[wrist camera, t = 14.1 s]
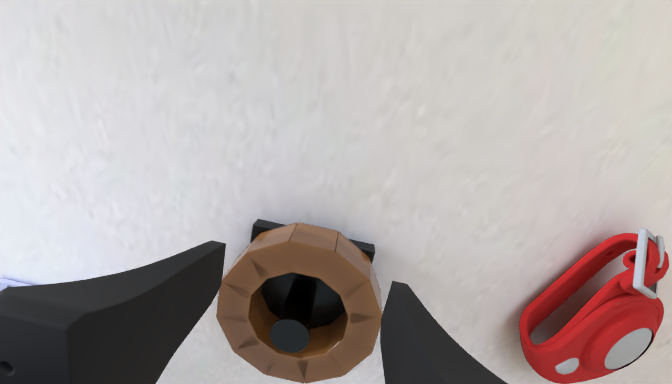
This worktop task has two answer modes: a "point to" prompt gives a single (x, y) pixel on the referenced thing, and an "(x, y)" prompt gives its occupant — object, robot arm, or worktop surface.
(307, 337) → the rack
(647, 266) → the tracker holder
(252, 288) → the ring
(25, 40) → the worktop surface
